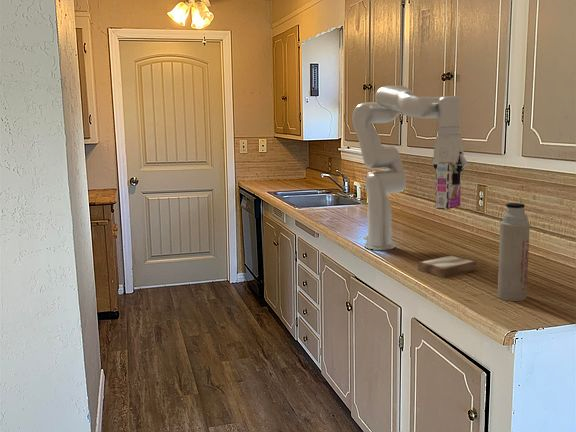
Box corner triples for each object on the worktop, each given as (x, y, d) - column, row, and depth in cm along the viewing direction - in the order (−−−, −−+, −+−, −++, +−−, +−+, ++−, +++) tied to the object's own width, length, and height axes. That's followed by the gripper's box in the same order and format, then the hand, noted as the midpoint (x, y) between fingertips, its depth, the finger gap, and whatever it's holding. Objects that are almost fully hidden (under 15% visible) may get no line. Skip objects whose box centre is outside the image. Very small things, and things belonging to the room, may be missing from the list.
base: (418, 270, 201) (418, 261, 200) (449, 263, 209) (449, 255, 209) (444, 277, 191) (444, 268, 190) (476, 270, 200) (476, 261, 199)
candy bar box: (448, 210, 197) (448, 162, 194) (434, 209, 200) (435, 162, 198) (461, 206, 206) (461, 160, 203) (448, 205, 209) (448, 160, 206)
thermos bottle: (531, 297, 169) (536, 203, 164) (516, 302, 164) (520, 206, 159) (507, 291, 175) (511, 200, 170) (491, 296, 170) (495, 203, 166)
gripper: (423, 132, 204) (422, 183, 206) (462, 132, 189) (461, 186, 192) (437, 132, 208) (436, 181, 211) (476, 131, 194) (475, 184, 196)
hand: (448, 183), depth 201 cm, fingers closed on candy bar box, 6 cm apart
